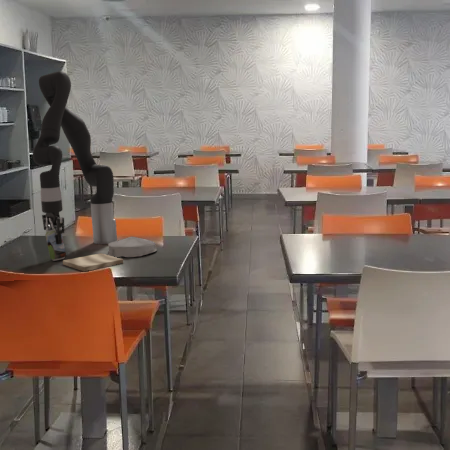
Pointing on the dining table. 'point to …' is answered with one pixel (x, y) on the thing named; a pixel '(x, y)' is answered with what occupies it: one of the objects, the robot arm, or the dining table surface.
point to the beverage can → (55, 246)
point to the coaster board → (92, 262)
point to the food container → (131, 247)
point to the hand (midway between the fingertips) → (54, 242)
